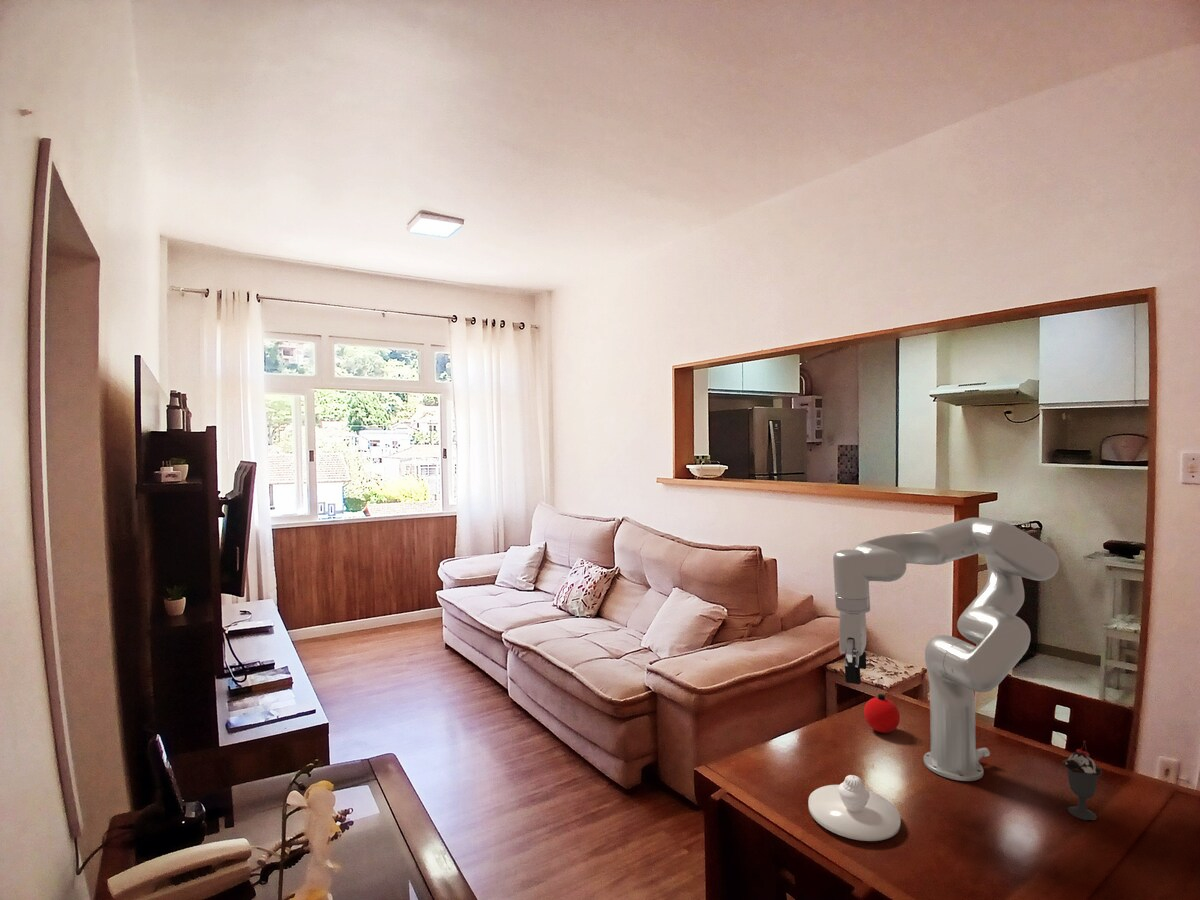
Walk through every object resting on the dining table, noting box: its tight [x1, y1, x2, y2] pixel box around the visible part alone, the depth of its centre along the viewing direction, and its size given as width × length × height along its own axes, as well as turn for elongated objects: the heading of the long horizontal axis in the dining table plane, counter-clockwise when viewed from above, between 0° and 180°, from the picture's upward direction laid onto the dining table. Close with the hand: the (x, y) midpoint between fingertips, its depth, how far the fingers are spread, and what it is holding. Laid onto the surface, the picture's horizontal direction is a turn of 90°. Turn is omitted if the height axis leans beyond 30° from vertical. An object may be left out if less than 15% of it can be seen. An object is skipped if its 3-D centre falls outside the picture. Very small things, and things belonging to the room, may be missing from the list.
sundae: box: [1062, 740, 1103, 821], centre depth 130 cm, size 7×7×15 cm
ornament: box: [863, 693, 901, 734], centre depth 168 cm, size 9×9×10 cm
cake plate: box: [807, 784, 901, 842], centre depth 130 cm, size 18×18×2 cm
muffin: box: [838, 774, 870, 813], centre depth 130 cm, size 6×6×7 cm
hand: (856, 675), depth 144 cm, fingers open, 9 cm apart
